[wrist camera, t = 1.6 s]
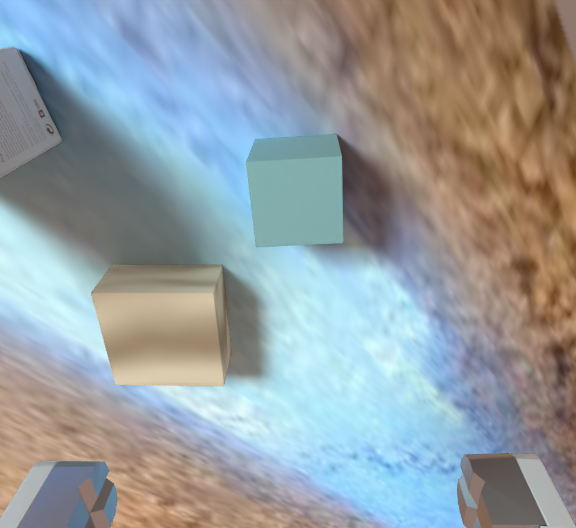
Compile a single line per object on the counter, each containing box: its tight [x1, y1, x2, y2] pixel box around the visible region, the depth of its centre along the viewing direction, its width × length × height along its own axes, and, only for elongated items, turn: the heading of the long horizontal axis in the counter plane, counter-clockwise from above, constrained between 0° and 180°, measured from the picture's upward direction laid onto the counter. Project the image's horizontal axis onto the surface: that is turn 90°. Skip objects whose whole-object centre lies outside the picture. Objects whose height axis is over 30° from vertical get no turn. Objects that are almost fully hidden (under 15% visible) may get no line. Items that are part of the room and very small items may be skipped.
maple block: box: [91, 265, 231, 386], centre depth 33 cm, size 8×8×4 cm
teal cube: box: [246, 134, 343, 247], centre depth 27 cm, size 5×5×5 cm
